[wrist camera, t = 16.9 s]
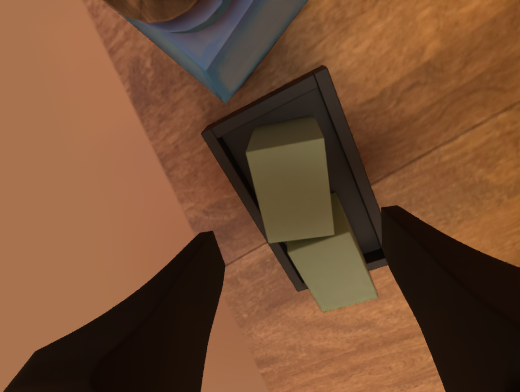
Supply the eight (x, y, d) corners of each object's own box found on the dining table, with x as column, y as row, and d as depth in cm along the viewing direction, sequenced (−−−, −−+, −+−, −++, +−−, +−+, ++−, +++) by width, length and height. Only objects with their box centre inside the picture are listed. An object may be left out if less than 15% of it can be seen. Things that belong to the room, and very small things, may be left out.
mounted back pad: (315, 264, 24) (322, 313, 20) (286, 210, 22) (287, 252, 17) (361, 249, 23) (379, 298, 18) (335, 191, 20) (349, 231, 16)
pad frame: (296, 277, 26) (297, 292, 24) (206, 126, 19) (200, 133, 18) (391, 247, 23) (398, 262, 22) (323, 64, 17) (326, 66, 15)
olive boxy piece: (271, 202, 21) (268, 243, 17) (254, 126, 19) (245, 152, 14) (323, 195, 21) (335, 235, 16) (314, 114, 18) (324, 137, 14)
